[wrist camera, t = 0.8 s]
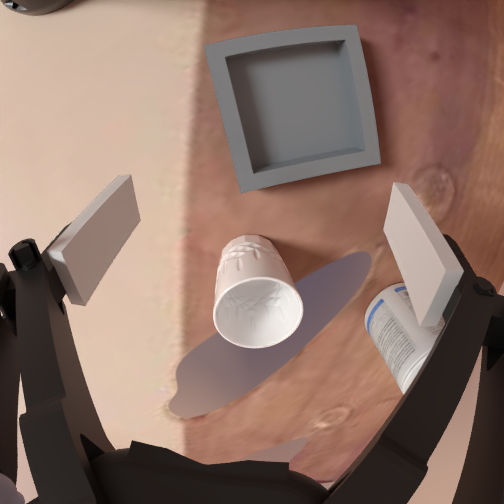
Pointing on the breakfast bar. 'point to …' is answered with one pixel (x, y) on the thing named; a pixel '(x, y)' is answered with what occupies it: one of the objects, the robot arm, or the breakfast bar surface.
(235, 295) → the white cup
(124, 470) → the robot arm
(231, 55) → the slate coaster tray
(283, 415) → the breakfast bar surface
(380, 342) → the supplement tub
